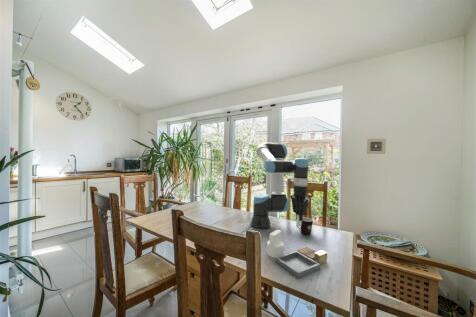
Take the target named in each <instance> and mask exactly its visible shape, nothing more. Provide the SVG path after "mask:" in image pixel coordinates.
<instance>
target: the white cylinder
mask: <svg viewBox="0 0 476 317" xmlns="http://www.w3.org/2000/svg"><path fill="white" fill-rule="evenodd" d="M282 234H283V230H280V229H276V230H274V231H272V232H270V233H269V238H268V239H269V240H267V243H266V253H267V254H266V255H267V256H269V257H270V258H273V259H276V257H279V256H282V255H284V253H285V252H284V250H285V248H284V247H285V246H284V242H283V241H282V239H283V238H282V237H283V235H282Z"/></svg>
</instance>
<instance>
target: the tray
mask: <svg viewBox="0 0 476 317" xmlns="http://www.w3.org/2000/svg"><path fill="white" fill-rule="evenodd" d="M274 261H275V262H274V263H276V265H278V266H280V267H281V268H282V269H284V270H285V271H287V273H289V274H291V275H292V276H293V277H294V278H296V279H301V278H303V277H306V276H307V275H310V274H312V273H314V272H315V273H316V272H318V271H319V270H321V265H320V264H319V263H317V262H315V261H314V260H312V259H310V258H308V257H306V256H305V255H303V254H301V253H299V252H298V251H297V250H295V251H291V252H289V253H285V254H283V255H282V256H279V257H276V258H275V260H274Z"/></svg>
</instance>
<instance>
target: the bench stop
mask: <svg viewBox="0 0 476 317" xmlns="http://www.w3.org/2000/svg"><path fill="white" fill-rule="evenodd" d="M314 261H315V262H317V263H319V264H320V266H321V265H323V264H326V263H327V262H328V252H326V251H325V250H323V249H321V250H318V251H316V253H315V258H314Z"/></svg>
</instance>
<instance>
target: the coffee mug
mask: <svg viewBox="0 0 476 317" xmlns="http://www.w3.org/2000/svg"><path fill="white" fill-rule="evenodd" d="M313 222H314V219H313V218H310V217H304V216H303V220H302V225H301V226H296V227H297V229H299V230H300V234H302V235H303V236H311V235H312V229H313Z"/></svg>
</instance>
